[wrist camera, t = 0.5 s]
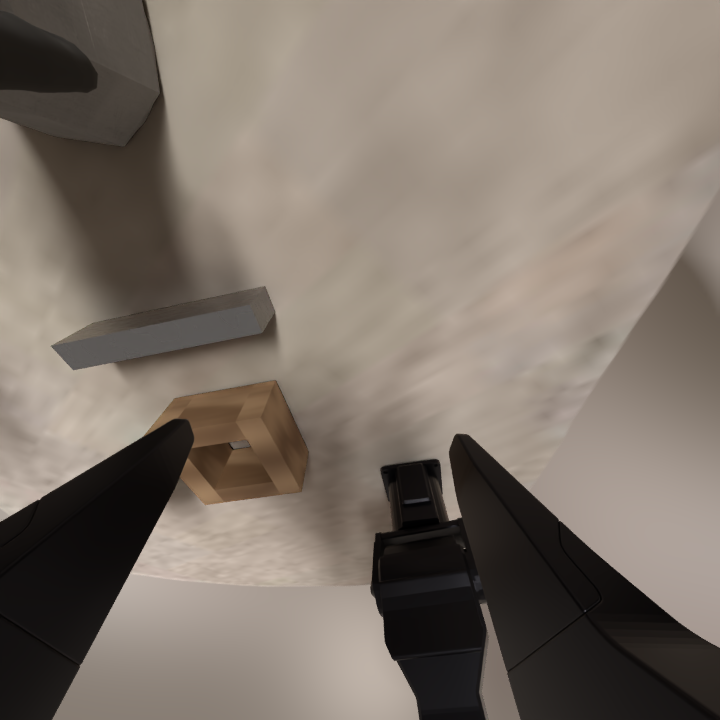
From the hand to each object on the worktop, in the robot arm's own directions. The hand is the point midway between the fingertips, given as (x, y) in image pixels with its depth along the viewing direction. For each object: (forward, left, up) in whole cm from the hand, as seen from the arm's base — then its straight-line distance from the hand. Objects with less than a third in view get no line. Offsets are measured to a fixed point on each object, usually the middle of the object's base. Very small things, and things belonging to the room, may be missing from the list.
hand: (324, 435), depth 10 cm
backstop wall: (+1, +12, -13) cm, 18 cm away
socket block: (-11, +12, -13) cm, 21 cm away
